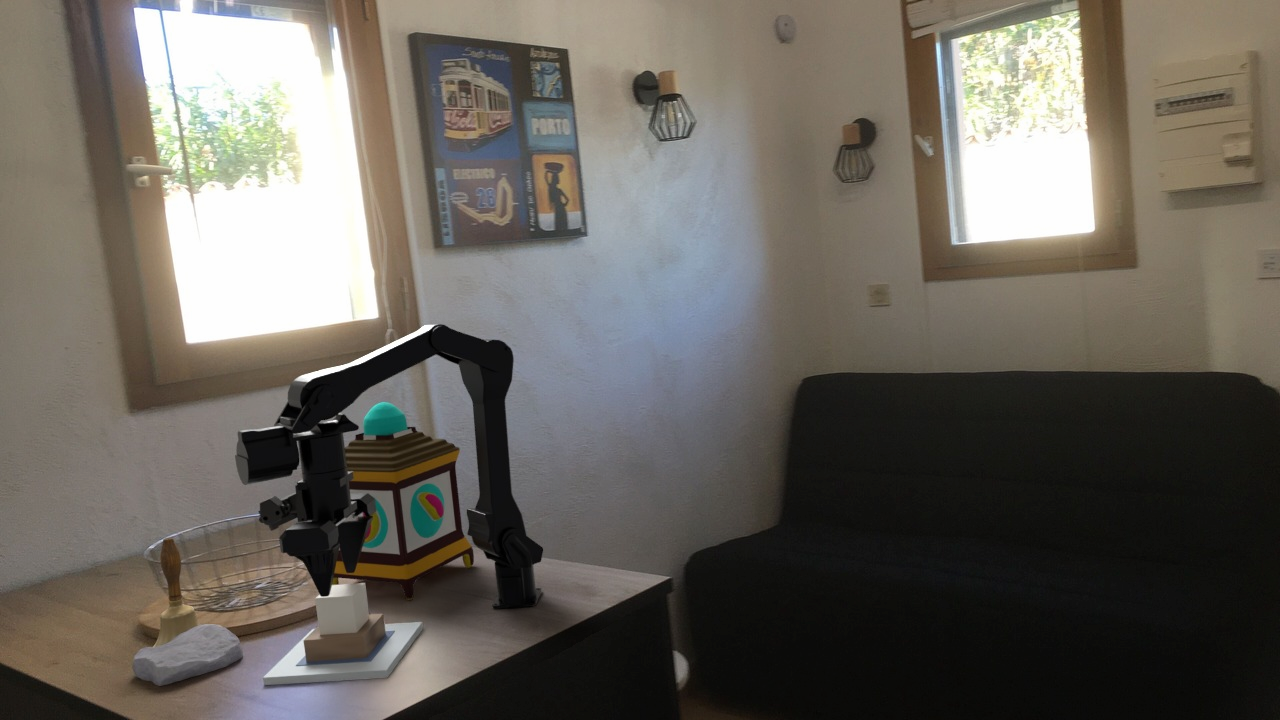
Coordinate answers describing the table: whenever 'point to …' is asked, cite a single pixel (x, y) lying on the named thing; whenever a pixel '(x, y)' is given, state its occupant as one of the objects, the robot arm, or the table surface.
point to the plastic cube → (342, 609)
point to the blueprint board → (348, 668)
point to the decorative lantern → (405, 501)
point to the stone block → (188, 655)
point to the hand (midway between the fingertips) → (338, 584)
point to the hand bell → (174, 597)
